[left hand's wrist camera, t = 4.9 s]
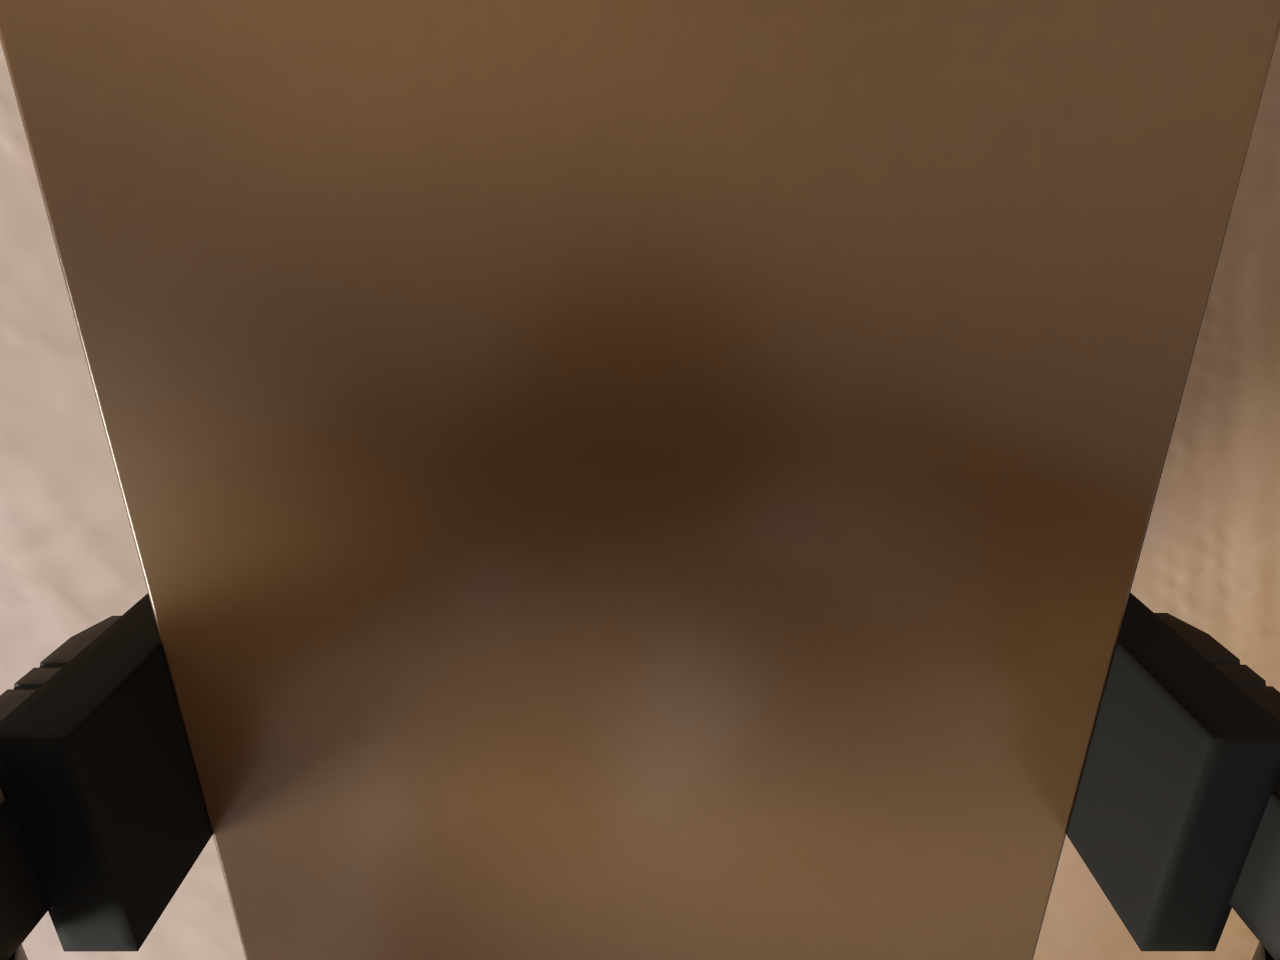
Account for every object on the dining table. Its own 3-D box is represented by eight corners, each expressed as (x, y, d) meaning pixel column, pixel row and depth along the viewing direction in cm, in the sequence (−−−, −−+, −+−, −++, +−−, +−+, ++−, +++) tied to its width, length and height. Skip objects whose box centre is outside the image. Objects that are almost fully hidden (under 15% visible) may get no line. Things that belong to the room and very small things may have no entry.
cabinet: (360, -247, 14) (-380, -1364, 4) (916, -248, 14) (1651, -1357, 4) (450, 606, 21) (264, 1036, 11) (828, 606, 21) (1014, 1034, 11)
